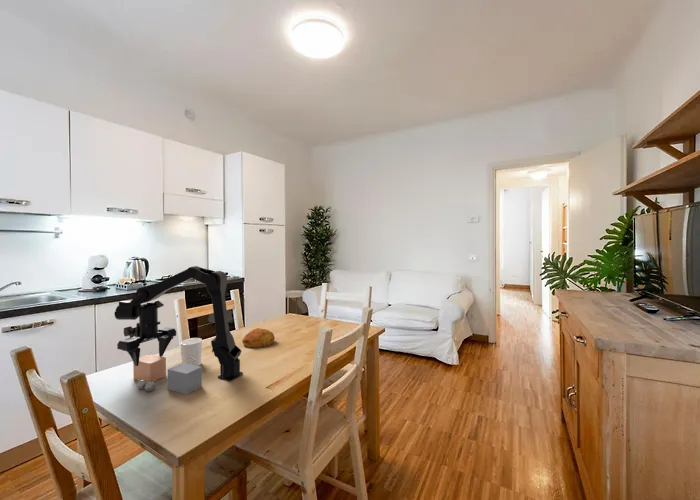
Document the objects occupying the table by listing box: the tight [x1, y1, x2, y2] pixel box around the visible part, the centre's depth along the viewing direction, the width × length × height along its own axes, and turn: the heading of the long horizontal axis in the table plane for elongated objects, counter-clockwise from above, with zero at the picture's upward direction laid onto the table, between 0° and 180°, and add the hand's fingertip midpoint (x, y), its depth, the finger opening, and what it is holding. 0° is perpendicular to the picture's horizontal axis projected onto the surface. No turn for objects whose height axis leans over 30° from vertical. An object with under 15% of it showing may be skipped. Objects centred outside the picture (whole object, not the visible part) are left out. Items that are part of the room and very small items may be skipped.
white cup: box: [180, 337, 203, 366], centre depth 124 cm, size 8×8×10 cm
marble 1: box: [136, 380, 148, 390], centre depth 104 cm, size 3×3×3 cm
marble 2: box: [144, 381, 156, 392], centre depth 103 cm, size 3×3×3 cm
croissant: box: [241, 327, 275, 349], centre depth 150 cm, size 14×16×8 cm
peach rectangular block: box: [132, 353, 167, 383], centre depth 113 cm, size 9×6×7 cm, turn 69°
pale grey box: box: [167, 362, 203, 395], centre depth 105 cm, size 9×6×7 cm, turn 69°
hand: (149, 361), depth 112 cm, fingers open, 9 cm apart
